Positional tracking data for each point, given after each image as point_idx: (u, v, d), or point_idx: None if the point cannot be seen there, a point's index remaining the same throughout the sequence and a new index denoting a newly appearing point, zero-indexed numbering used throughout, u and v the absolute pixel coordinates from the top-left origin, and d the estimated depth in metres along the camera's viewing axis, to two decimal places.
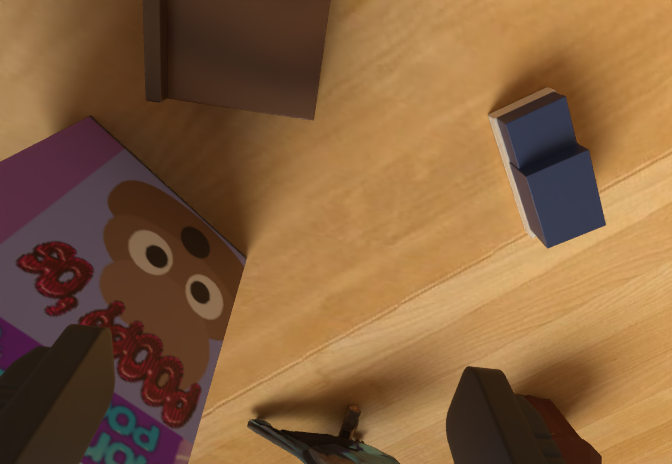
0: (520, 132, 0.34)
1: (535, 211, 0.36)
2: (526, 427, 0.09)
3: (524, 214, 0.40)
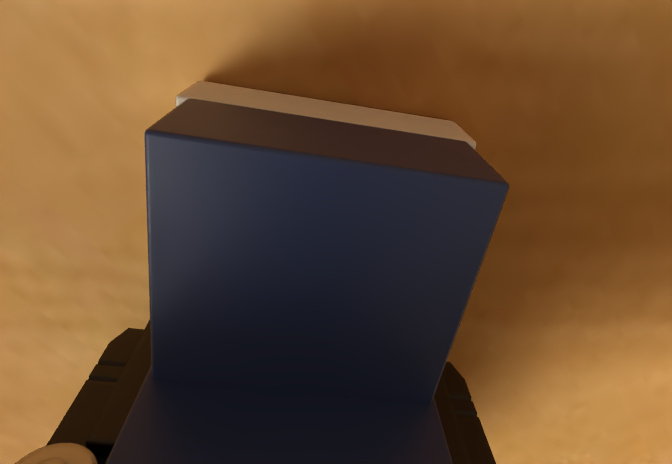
0: (214, 225, 0.06)
1: None
2: (443, 388, 0.09)
3: None
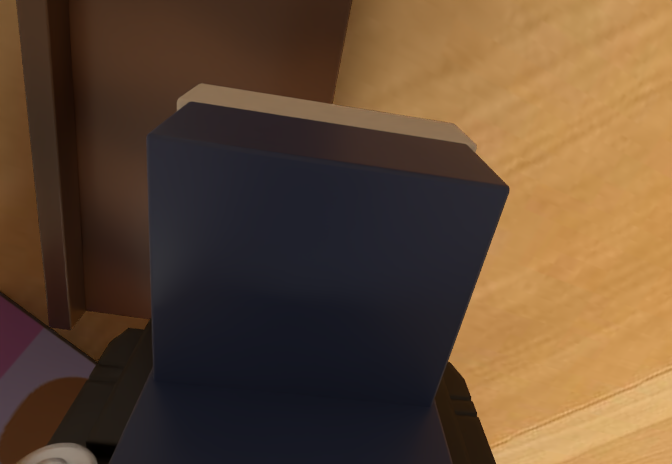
0: (215, 229, 0.06)
1: None
2: (443, 388, 0.09)
3: None
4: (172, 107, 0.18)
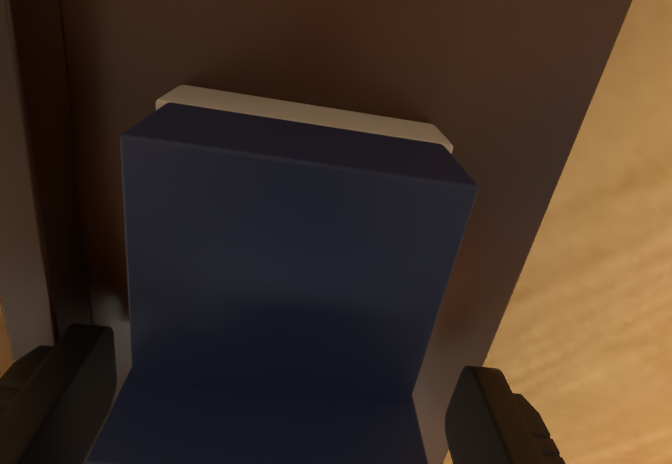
0: (190, 227, 0.06)
1: None
2: (524, 426, 0.09)
3: None
4: None
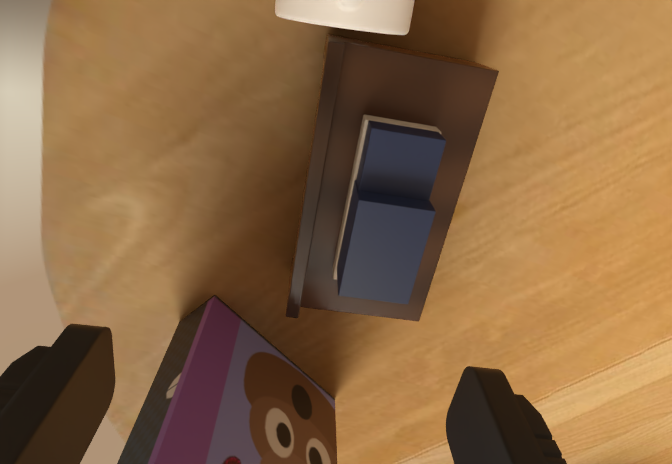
0: (382, 148, 0.27)
1: (348, 246, 0.28)
2: (526, 427, 0.09)
3: (339, 248, 0.32)
4: None
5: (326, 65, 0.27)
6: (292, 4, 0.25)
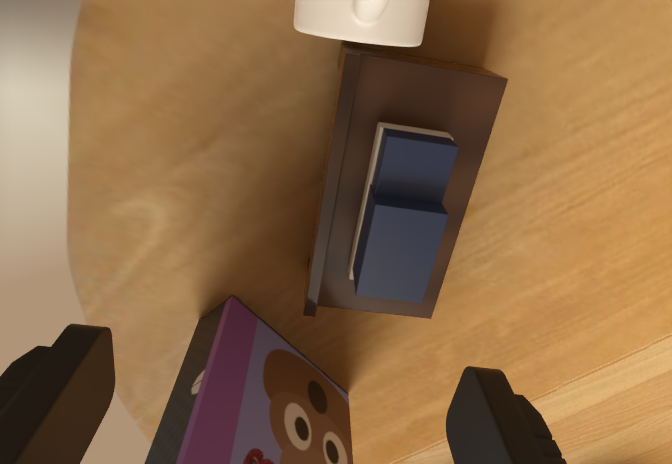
0: (397, 155, 0.28)
1: (365, 248, 0.30)
2: (526, 427, 0.09)
3: (355, 249, 0.34)
4: None
5: (343, 76, 0.28)
6: (311, 20, 0.26)
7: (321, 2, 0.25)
